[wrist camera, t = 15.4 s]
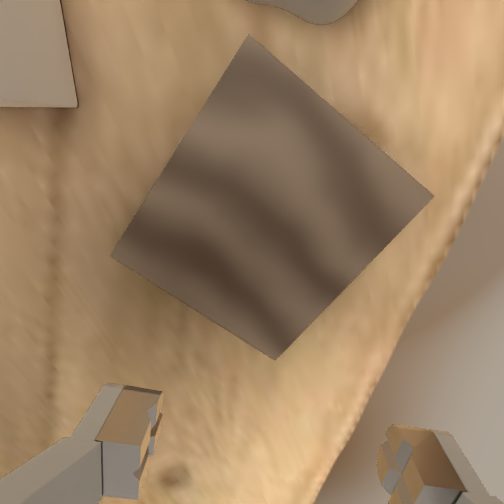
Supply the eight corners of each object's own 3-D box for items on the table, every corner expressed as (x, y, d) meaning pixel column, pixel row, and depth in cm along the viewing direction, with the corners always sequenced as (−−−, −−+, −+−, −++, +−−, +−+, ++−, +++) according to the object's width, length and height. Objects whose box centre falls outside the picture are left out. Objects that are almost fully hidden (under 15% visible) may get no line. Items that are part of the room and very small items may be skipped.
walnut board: (274, 350, 32) (275, 360, 31) (116, 249, 29) (109, 256, 27) (425, 192, 26) (434, 196, 25) (249, 40, 23) (248, 34, 21)
